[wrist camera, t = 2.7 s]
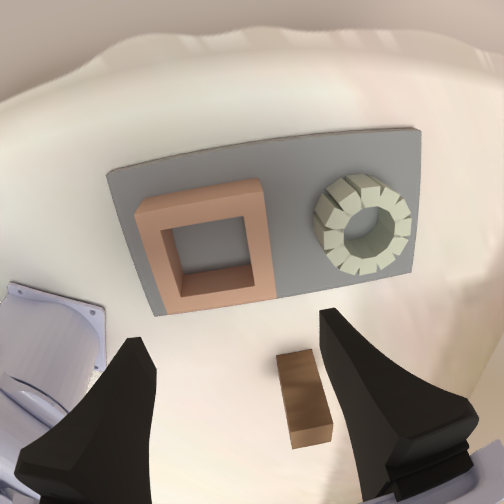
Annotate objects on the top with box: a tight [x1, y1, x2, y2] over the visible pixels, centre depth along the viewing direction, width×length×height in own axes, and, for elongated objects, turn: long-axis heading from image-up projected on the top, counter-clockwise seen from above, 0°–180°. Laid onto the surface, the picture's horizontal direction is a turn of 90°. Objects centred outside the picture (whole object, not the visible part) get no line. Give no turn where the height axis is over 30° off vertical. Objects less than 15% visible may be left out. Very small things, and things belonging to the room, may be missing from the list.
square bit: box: [276, 349, 333, 449], centre depth 25 cm, size 3×3×8 cm
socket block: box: [106, 128, 421, 317], centre depth 20 cm, size 20×11×4 cm, turn 98°
